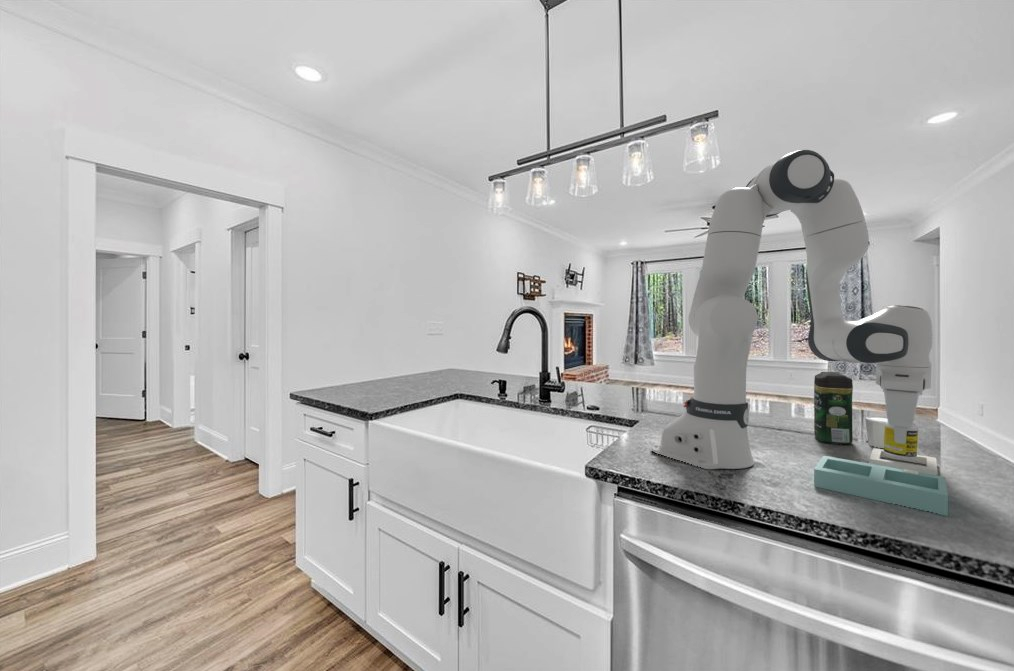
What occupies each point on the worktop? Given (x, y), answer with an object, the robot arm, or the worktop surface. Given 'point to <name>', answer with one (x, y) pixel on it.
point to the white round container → (876, 431)
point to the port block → (883, 484)
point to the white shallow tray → (929, 461)
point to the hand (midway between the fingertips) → (900, 439)
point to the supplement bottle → (900, 449)
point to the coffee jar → (833, 408)
